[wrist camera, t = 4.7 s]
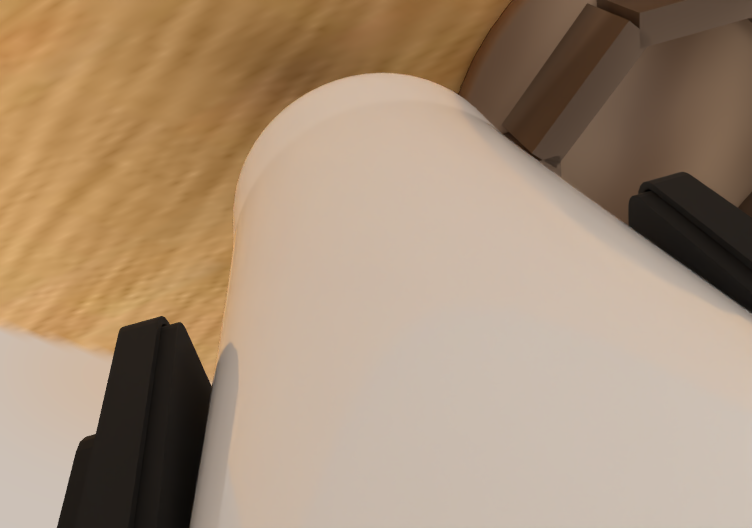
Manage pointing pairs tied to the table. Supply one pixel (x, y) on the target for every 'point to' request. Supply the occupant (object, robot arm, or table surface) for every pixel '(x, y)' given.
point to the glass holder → (623, 92)
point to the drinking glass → (459, 338)
